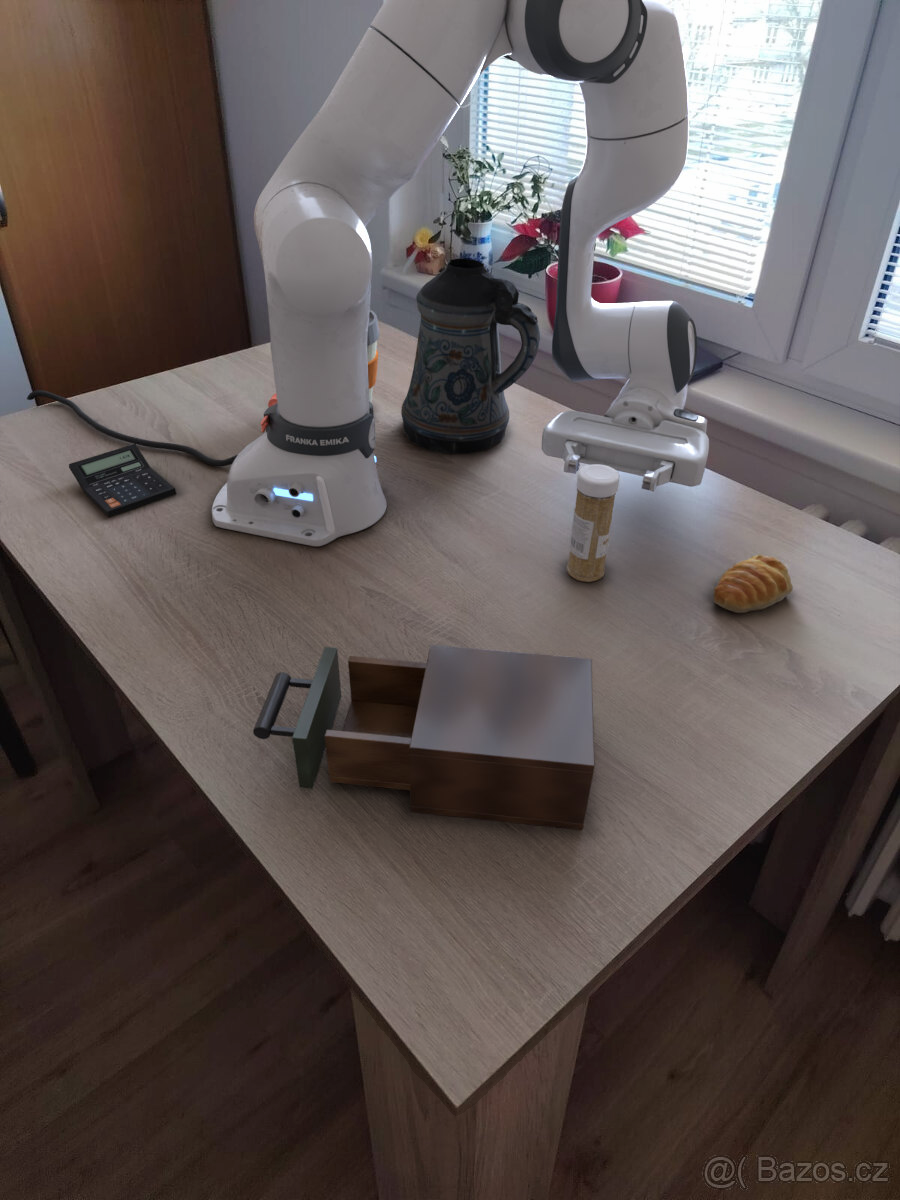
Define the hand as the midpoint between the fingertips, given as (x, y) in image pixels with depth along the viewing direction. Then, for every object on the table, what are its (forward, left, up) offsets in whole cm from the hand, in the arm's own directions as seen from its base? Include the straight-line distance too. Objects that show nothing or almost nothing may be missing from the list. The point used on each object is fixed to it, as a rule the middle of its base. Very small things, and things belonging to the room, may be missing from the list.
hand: (608, 476), depth 97 cm
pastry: (+17, -8, -10) cm, 21 cm away
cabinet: (-10, -37, -10) cm, 39 cm away
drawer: (-22, -37, -9) cm, 44 cm away
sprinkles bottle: (-2, -6, -10) cm, 12 cm away
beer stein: (-20, +29, -10) cm, 37 cm away
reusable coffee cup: (-40, +33, -10) cm, 53 cm away
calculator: (-64, +5, -10) cm, 65 cm away
